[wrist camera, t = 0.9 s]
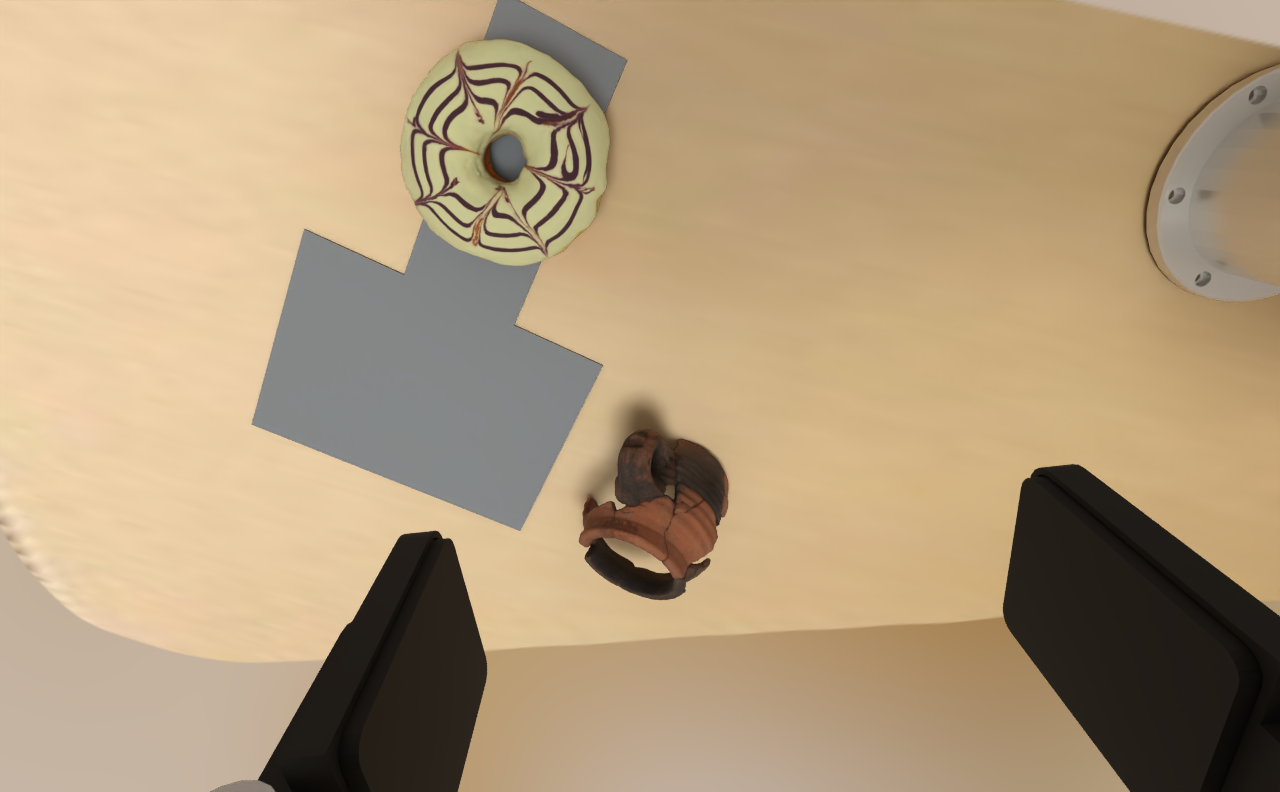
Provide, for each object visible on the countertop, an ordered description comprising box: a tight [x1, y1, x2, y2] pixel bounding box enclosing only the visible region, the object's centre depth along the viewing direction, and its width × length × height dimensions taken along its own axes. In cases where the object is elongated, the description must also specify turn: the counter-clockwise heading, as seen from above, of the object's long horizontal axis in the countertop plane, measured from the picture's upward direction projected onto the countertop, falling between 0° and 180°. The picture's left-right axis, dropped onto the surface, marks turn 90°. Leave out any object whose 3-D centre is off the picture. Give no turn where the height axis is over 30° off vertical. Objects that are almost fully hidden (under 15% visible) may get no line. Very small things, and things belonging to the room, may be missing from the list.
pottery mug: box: [579, 430, 728, 600], centre depth 41 cm, size 12×10×8 cm
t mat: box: [252, 0, 627, 531], centre depth 37 cm, size 30×19×1 cm, turn 154°
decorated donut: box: [400, 39, 610, 266], centre depth 33 cm, size 10×11×4 cm
